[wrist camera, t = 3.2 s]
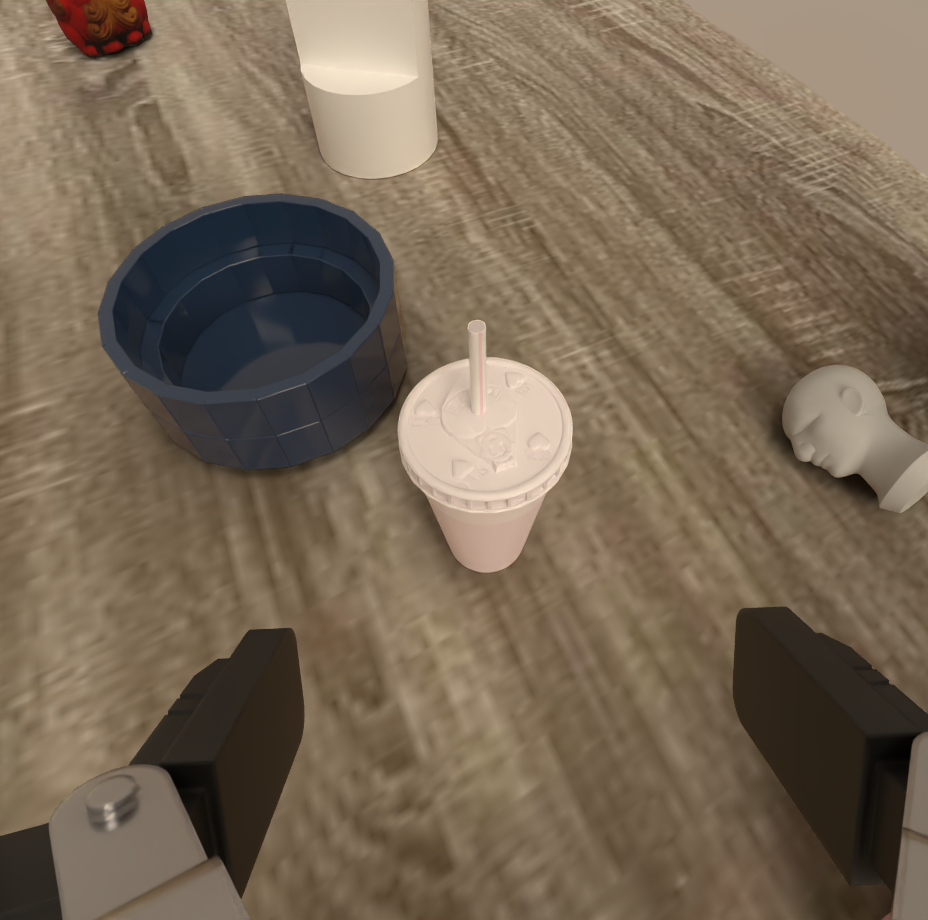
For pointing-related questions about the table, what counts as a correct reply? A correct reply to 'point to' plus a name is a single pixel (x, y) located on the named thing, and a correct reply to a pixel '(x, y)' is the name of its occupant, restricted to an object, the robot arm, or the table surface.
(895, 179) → the table surface
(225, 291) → the bowl
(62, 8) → the red clay folk toy
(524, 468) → the smoothie
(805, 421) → the white head bust
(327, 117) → the base with upright slab
